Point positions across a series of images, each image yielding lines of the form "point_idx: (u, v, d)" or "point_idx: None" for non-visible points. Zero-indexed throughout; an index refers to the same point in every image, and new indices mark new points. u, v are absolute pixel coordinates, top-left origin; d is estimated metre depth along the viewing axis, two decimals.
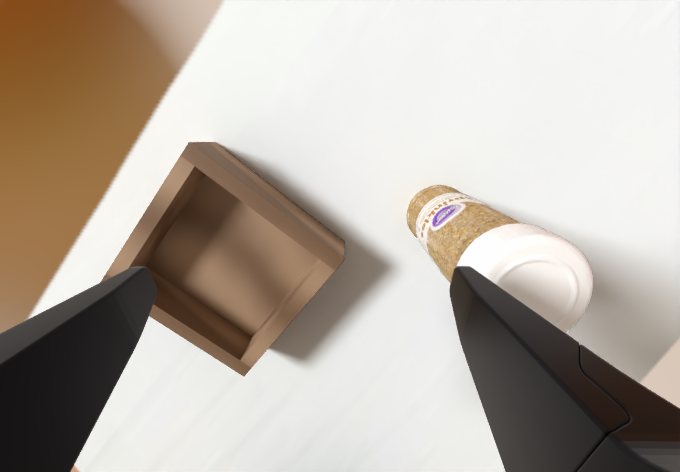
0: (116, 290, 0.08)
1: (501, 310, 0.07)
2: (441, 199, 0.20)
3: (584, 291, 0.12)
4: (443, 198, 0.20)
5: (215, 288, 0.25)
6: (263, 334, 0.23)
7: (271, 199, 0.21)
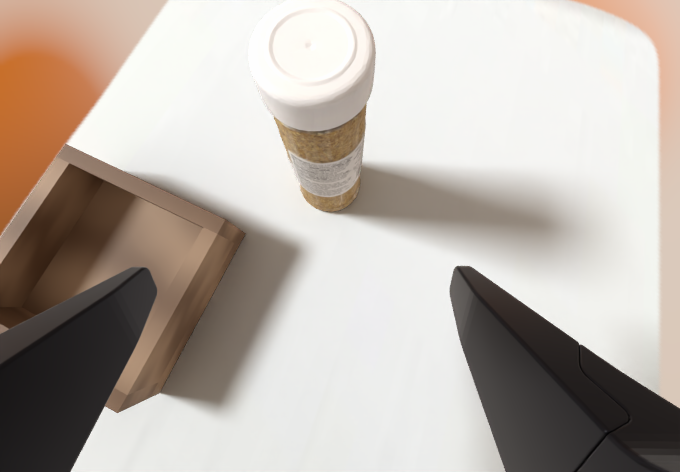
0: (116, 290, 0.08)
1: (501, 310, 0.07)
2: None
3: (359, 28, 0.11)
4: None
5: None
6: (141, 337, 0.18)
7: None
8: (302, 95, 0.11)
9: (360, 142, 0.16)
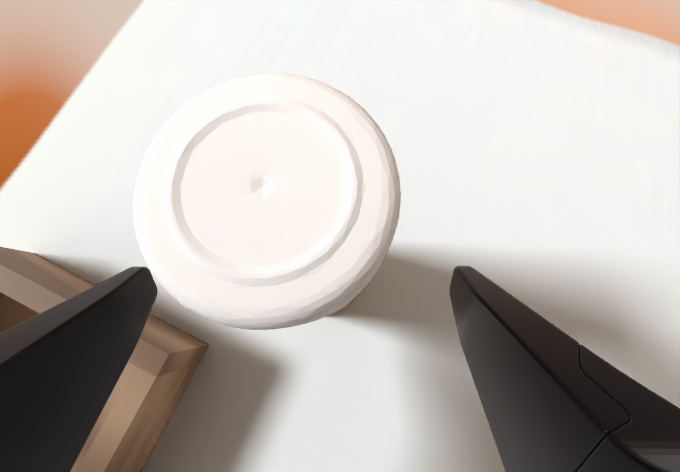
0: (116, 290, 0.08)
1: (501, 310, 0.07)
2: None
3: (365, 148, 0.05)
4: None
5: None
6: None
7: (69, 292, 0.15)
8: (240, 307, 0.05)
9: None
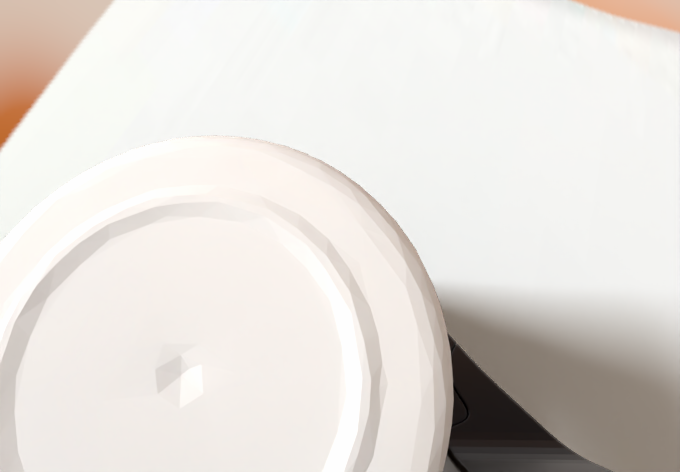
0: None
1: None
2: None
3: (388, 296, 0.03)
4: None
5: None
6: None
7: None
8: None
9: None
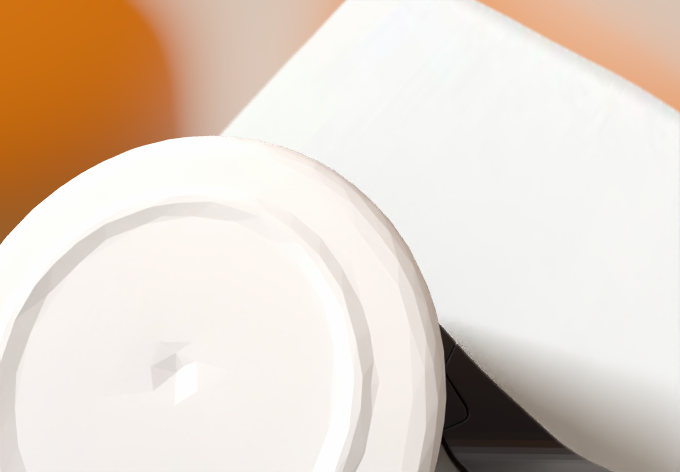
0: None
1: None
2: None
3: (379, 293, 0.03)
4: None
5: None
6: None
7: None
8: None
9: None
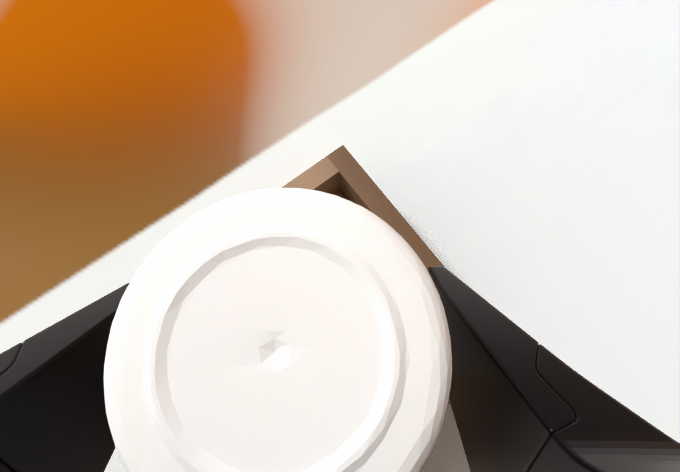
0: None
1: (466, 310, 0.07)
2: None
3: (409, 300, 0.04)
4: None
5: None
6: None
7: None
8: None
9: None
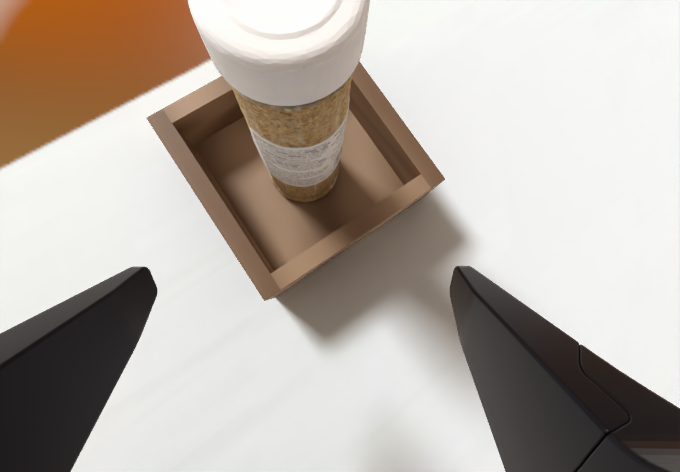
0: (116, 290, 0.08)
1: (501, 310, 0.07)
2: None
3: None
4: None
5: (262, 197, 0.21)
6: (317, 244, 0.17)
7: None
8: (261, 51, 0.08)
9: (341, 125, 0.13)
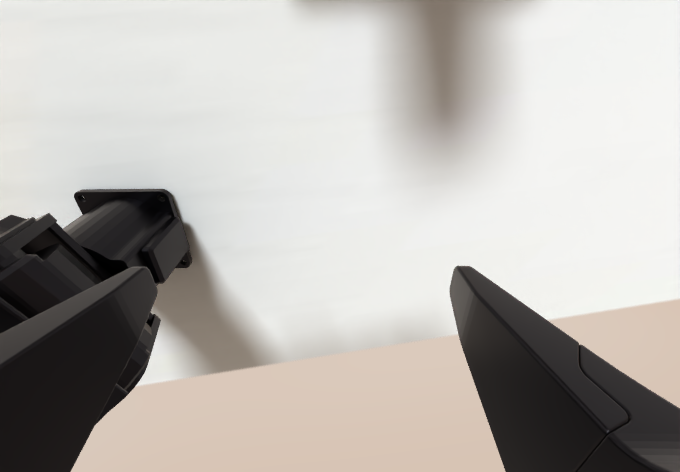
0: (116, 290, 0.08)
1: (501, 310, 0.07)
2: None
3: None
4: None
5: None
6: None
7: None
8: None
9: None
